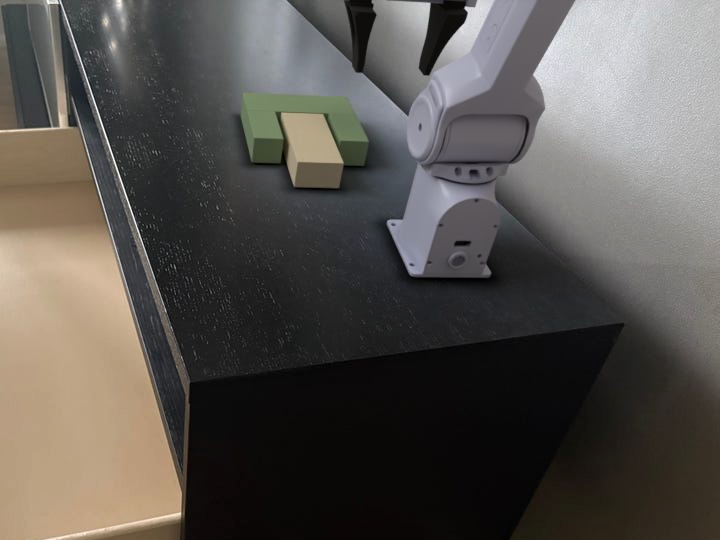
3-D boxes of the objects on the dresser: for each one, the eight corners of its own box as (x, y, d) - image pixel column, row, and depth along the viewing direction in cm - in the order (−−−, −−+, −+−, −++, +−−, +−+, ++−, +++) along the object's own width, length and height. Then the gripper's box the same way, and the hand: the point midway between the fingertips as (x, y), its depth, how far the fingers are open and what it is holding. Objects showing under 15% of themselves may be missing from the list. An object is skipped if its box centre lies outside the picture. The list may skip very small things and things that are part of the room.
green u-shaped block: (364, 165, 86) (369, 141, 84) (251, 162, 84) (254, 137, 82) (342, 119, 95) (347, 96, 93) (240, 116, 93) (242, 92, 91)
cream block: (339, 188, 82) (344, 163, 80) (293, 187, 81) (297, 161, 79) (319, 137, 91) (323, 113, 89) (278, 136, 90) (281, 112, 88)
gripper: (476, -73, 78) (442, 59, 87) (340, -83, 76) (319, 54, 85) (502, -54, 73) (462, 84, 82) (356, -64, 71) (332, 79, 80)
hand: (390, 70), depth 83 cm, fingers open, 7 cm apart
